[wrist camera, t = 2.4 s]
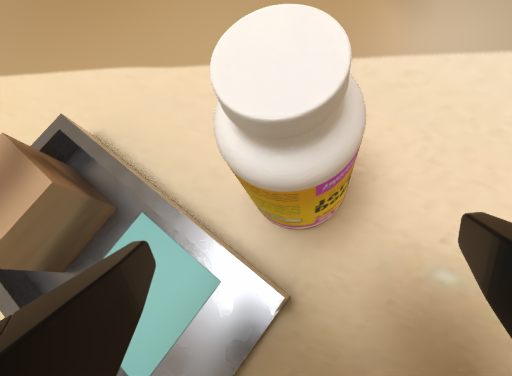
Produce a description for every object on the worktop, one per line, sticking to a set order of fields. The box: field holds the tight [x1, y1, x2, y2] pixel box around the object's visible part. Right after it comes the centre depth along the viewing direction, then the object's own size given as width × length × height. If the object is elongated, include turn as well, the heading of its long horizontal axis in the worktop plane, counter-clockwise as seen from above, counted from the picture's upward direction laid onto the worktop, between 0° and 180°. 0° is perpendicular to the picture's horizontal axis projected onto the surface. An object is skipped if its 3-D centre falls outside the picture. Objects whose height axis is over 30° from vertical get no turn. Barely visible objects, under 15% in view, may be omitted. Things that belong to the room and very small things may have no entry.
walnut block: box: [0, 133, 117, 273], centre depth 20 cm, size 6×6×6 cm
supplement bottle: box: [210, 4, 366, 229], centre depth 16 cm, size 7×7×13 cm
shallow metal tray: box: [0, 114, 290, 376], centre depth 21 cm, size 22×12×4 cm, turn 51°
